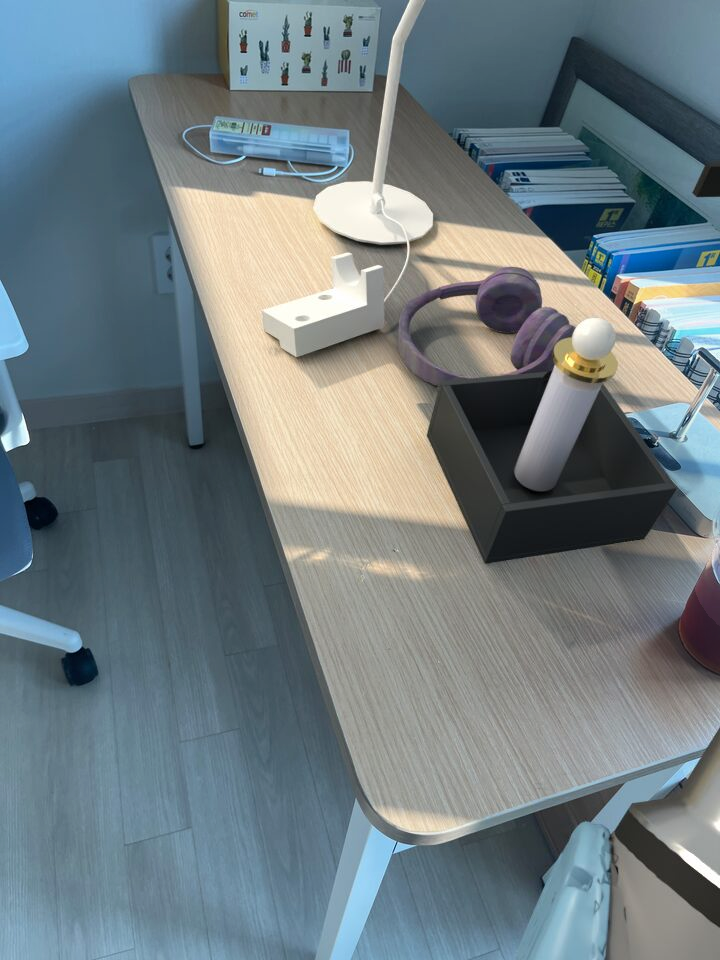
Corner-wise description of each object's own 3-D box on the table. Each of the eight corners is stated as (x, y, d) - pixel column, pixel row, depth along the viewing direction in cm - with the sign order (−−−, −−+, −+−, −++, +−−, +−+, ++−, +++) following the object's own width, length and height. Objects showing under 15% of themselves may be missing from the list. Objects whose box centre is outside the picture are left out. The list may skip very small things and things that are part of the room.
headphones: (517, 298, 102) (377, 332, 98) (526, 244, 96) (377, 278, 92) (586, 385, 91) (431, 427, 87) (601, 331, 84) (435, 374, 81)
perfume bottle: (570, 495, 78) (648, 337, 63) (522, 505, 76) (590, 346, 61) (543, 455, 81) (611, 298, 67) (496, 464, 80) (555, 305, 65)
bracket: (350, 309, 98) (348, 252, 94) (384, 326, 94) (383, 266, 89) (264, 337, 92) (257, 277, 88) (296, 357, 87) (290, 294, 83)
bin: (644, 539, 76) (677, 488, 70) (484, 564, 71) (506, 511, 66) (569, 420, 87) (592, 367, 81) (426, 435, 83) (440, 380, 77)
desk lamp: (301, 183, 118) (327, -199, 85) (410, 183, 123) (475, -180, 90) (356, 327, 94) (422, -126, 61) (490, 321, 99) (617, -104, 66)
